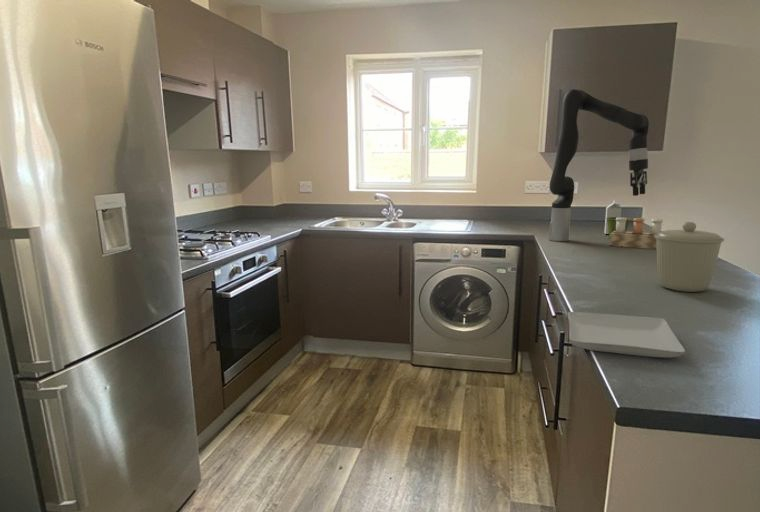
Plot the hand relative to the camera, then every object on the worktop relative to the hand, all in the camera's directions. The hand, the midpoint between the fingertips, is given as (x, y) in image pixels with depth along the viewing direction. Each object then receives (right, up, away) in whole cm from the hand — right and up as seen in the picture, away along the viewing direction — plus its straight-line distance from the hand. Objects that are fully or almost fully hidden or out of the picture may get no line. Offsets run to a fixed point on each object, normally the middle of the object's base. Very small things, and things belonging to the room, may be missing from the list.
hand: (639, 194), depth 210 cm
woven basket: (+5, -23, +11) cm, 26 cm away
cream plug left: (-1, -18, +14) cm, 23 cm away
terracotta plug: (+5, -18, +10) cm, 21 cm away
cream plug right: (+11, -19, +6) cm, 23 cm away
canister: (-23, -39, -65) cm, 79 cm away
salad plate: (-66, -48, -108) cm, 135 cm away
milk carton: (+12, -16, +49) cm, 53 cm away
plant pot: (+6, -20, +32) cm, 38 cm away
